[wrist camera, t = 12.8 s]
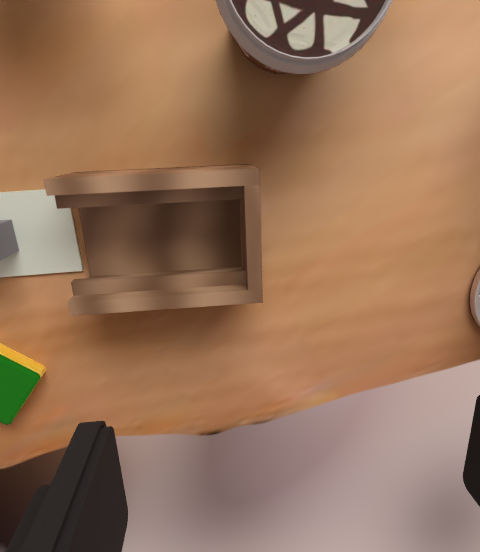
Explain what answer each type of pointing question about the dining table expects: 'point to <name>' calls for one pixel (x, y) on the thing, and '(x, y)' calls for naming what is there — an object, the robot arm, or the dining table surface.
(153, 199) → the slide box
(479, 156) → the dining table surface
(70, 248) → the cover plate
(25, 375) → the dish sponge
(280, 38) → the food container
